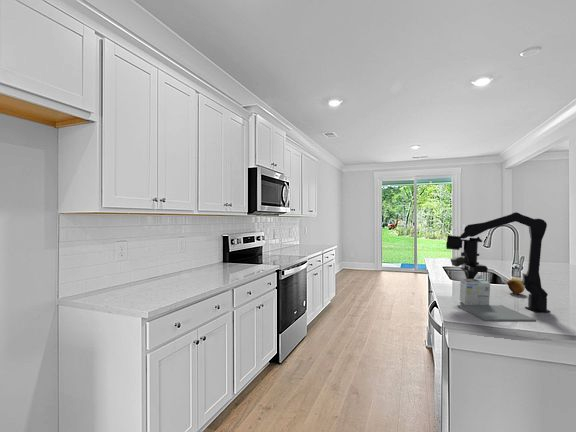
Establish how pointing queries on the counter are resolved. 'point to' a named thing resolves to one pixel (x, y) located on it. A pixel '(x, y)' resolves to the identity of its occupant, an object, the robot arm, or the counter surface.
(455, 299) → the counter surface
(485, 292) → the light bulb box
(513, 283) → the fruit
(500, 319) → the slate mat
